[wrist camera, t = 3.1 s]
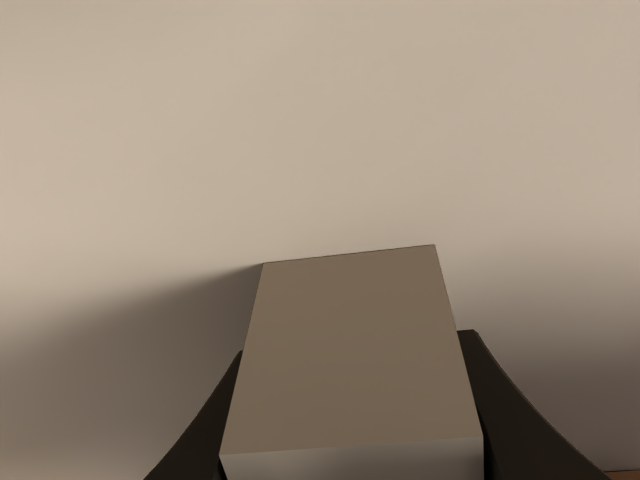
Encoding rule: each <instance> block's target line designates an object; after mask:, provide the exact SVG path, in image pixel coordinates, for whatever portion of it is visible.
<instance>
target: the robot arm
mask: <svg viewBox="0 0 640 480" xmlns="http://www.w3.org/2000/svg"><path fill="white" fill-rule="evenodd" d="M457 335H458V339H459V343H460V347H461V350H462V354H463V358H464V362H465V366H466V370H467V374H468V378H469V382H470V386H471V390H472V394H473V398H474V402H475V406H476V410H477V414H478V418H479V422H480V426H481V430H482V434H483V454H484V480H613V479H612V478H611V477H609V476H608V475H607V474H605V473H604V472H603V471H601V470H600V469H599V468H598V467H596V466H595V465H594V464H593V463H592V462H591V461H589V460H588V459H587V458H586V457H585V456H584V455H582V454H581V453H580V452H579V451H578V450H577V449H576V448H575V447H573V446H572V445H571V444H570V443H569V442H568V441H567V440H566V439H565V438H564V437H563V436H562V435H561V434H560V433H558V432H557V431H556V430H555V429H554V428H553V427H552V426H551V425H550V424H549V423H548V421H547V420H546V419H545V418H544V417H543V416H542V415H541V414H540V413H539V412H538V411H537V410H536V409H535V408H534V407H533V406H532V404H531V403H530V402H529V401H528V400H527V399H526V398H525V396H524V395H523V394H522V393H521V392H520V390H519V389H518V388H517V387H516V386H515V384H514V383H513V382H512V381H511V380H510V378H509V377H508V376H507V375H506V373H505V372H504V371H503V369H502V368H501V367H500V365H499V364H498V363H497V361H496V360H495V359H494V357H493V356H492V354H491V353H490V351H489V350H488V348H487V347H486V345H485V344H484V342H483V341H482V339H481V337H480V336H479V334H478V333H477V332H476V331H475V330H473V329H472V330H461V331H457ZM242 354H243V351H240V352H239V353H238V354H237V356H236V357H235V359H234V360H233V362H232V364H231V365H230V367H229V368H228V370H227V371H226V373H225V375H224V376H223V378H222V379H221V381H220V382H219V384H218V385H217V387H216V388H215V390H214V391H213V393H212V394H211V396H210V397H209V399H208V400H207V402H206V403H205V404H204V406H203V407H202V409H201V410H200V412H199V413H198V414H197V416H196V417H195V419H194V420H193V421H192V423H191V424H190V425H189V426H188V428H187V429H186V430H185V432H184V433H183V434H182V435H181V437H180V438H179V439H178V441H177V442H176V443H175V444H174V446H173V447H172V448H171V449H170V450H169V452H168V453H167V454H166V455H165V456H164V458H163V459H162V460H161V461H160V462H159V463H158V464H157V465H156V467H155V468H154V469H153V470H152V471H151V472H150V473H149V474H148V475H147V476H146V477H145V478H144V479H143V480H228V479H227V476H226V474H225V471H224V468H223V465H222V463H221V460H220V457H219V452H220V448H221V444H222V439H223V435H224V431H225V427H226V422H227V418H228V414H229V409H230V405H231V401H232V396H233V392H234V388H235V384H236V379H237V375H238V371H239V366H240V362H241V358H242Z"/></svg>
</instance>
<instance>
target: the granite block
mask: <svg viewBox="0 0 640 480" xmlns="http://www.w3.org/2000/svg"><path fill="white" fill-rule="evenodd" d="M219 457H220V460H221V463H222V465H223V468H224V471H225V474H226V476H227V479H228V480H484V454H483V434H482V430H481V426H480V422H479V418H478V414H477V410H476V406H475V402H474V398H473V394H472V390H471V386H470V382H469V378H468V374H467V370H466V366H465V362H464V358H463V354H462V350H461V347H460V343H459V339H458V335H457V331H456V327H455V323H454V319H453V315H452V311H451V307H450V303H449V299H448V295H447V291H446V287H445V283H444V279H443V275H442V271H441V267H440V263H439V259H438V255H437V251H436V247H435V245H427V246H418V247H409V248H400V249H391V250H382V251H373V252H363V253H354V254H345V255H336V256H327V257H318V258H309V259H299V260H290V261H281V262H272V263H264V264H263V268H262V272H261V276H260V281H259V285H258V289H257V294H256V298H255V302H254V306H253V311H252V315H251V319H250V324H249V328H248V332H247V336H246V341H245V345H244V349H243V354H242V358H241V362H240V366H239V371H238V375H237V379H236V384H235V388H234V392H233V396H232V401H231V405H230V409H229V414H228V418H227V422H226V427H225V431H224V435H223V439H222V444H221V448H220V452H219Z"/></svg>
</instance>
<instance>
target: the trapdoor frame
mask: <svg viewBox="0 0 640 480" xmlns="http://www.w3.org/2000/svg"><path fill="white" fill-rule="evenodd" d="M605 474H607V475H608V476H609V477H611V478H612V479H613V480H640V470H637V471H621V472H605Z"/></svg>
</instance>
